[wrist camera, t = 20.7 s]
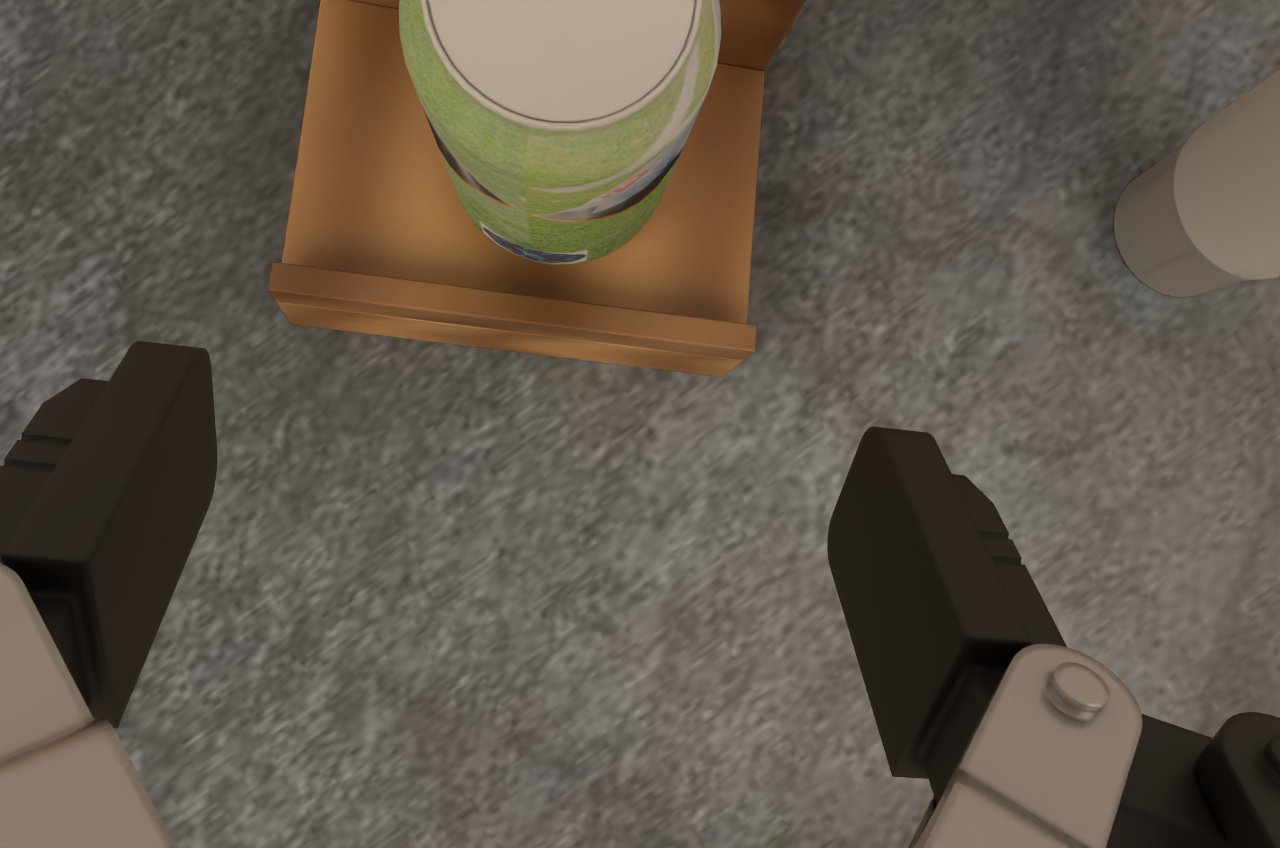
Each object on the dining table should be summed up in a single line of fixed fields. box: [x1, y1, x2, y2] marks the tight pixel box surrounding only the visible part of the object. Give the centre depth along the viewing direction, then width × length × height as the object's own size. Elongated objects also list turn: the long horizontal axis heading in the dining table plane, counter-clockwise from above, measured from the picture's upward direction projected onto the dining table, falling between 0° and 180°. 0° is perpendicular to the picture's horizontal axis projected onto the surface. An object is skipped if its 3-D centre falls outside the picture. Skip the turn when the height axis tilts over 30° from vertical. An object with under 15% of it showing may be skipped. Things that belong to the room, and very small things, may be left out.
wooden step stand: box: [268, 0, 806, 377], centre depth 29 cm, size 13×16×8 cm
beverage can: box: [399, 0, 721, 265], centre depth 24 cm, size 6×7×12 cm
